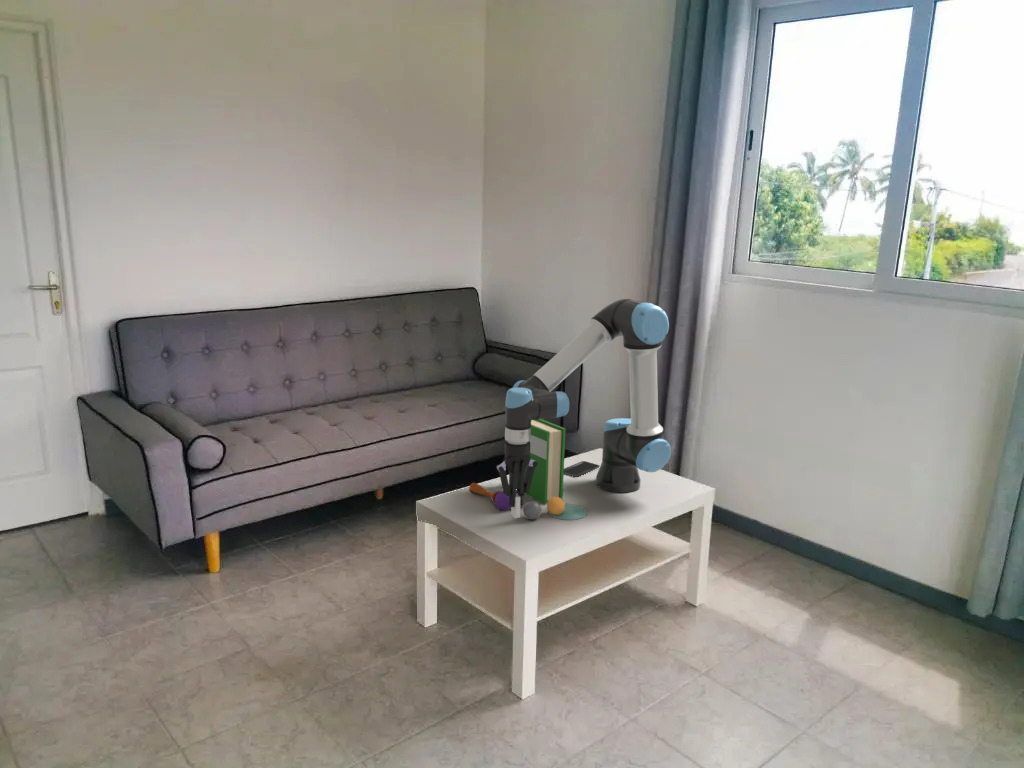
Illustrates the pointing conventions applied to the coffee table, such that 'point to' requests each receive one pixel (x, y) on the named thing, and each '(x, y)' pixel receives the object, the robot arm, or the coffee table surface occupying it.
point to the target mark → (571, 512)
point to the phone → (580, 469)
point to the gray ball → (532, 510)
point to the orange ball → (555, 505)
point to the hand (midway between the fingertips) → (515, 515)
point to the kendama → (492, 496)
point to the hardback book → (546, 460)
